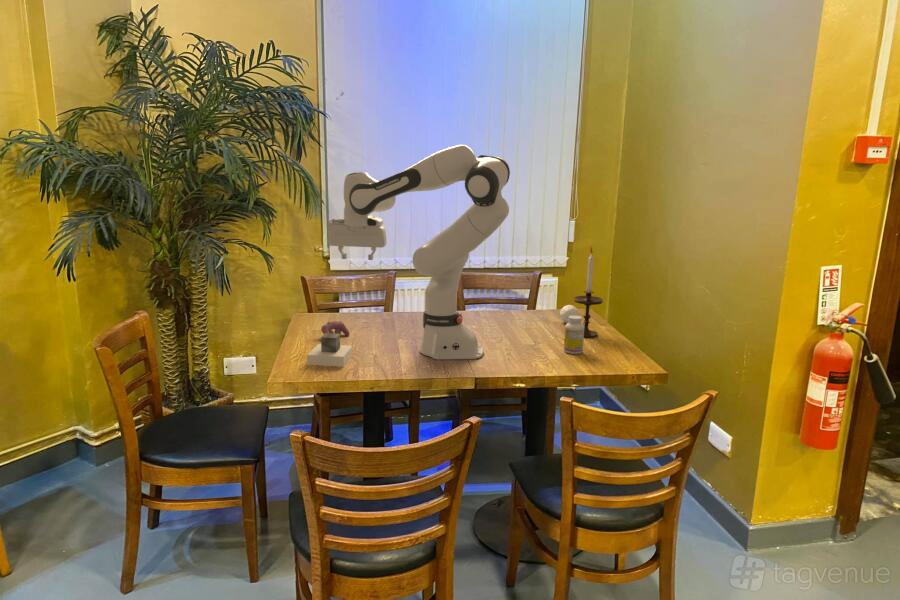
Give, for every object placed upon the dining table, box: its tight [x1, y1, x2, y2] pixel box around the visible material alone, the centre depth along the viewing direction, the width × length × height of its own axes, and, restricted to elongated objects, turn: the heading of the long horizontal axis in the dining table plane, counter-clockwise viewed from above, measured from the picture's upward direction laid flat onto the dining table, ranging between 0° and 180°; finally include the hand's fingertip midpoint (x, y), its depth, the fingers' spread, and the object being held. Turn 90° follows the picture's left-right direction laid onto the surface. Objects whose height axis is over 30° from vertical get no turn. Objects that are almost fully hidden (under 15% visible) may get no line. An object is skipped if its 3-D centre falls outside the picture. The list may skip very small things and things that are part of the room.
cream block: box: [306, 343, 354, 368], centre depth 212 cm, size 12×12×4 cm
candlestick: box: [573, 246, 603, 339], centre depth 244 cm, size 11×11×35 cm
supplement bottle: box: [563, 315, 585, 355], centre depth 225 cm, size 7×7×13 cm
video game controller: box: [320, 320, 350, 337], centre depth 239 cm, size 10×5×7 cm, turn 136°
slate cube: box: [320, 333, 341, 353], centre depth 211 cm, size 5×5×5 cm
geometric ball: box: [559, 304, 580, 324], centre depth 264 cm, size 8×8×8 cm
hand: (357, 259), depth 223 cm, fingers open, 8 cm apart
